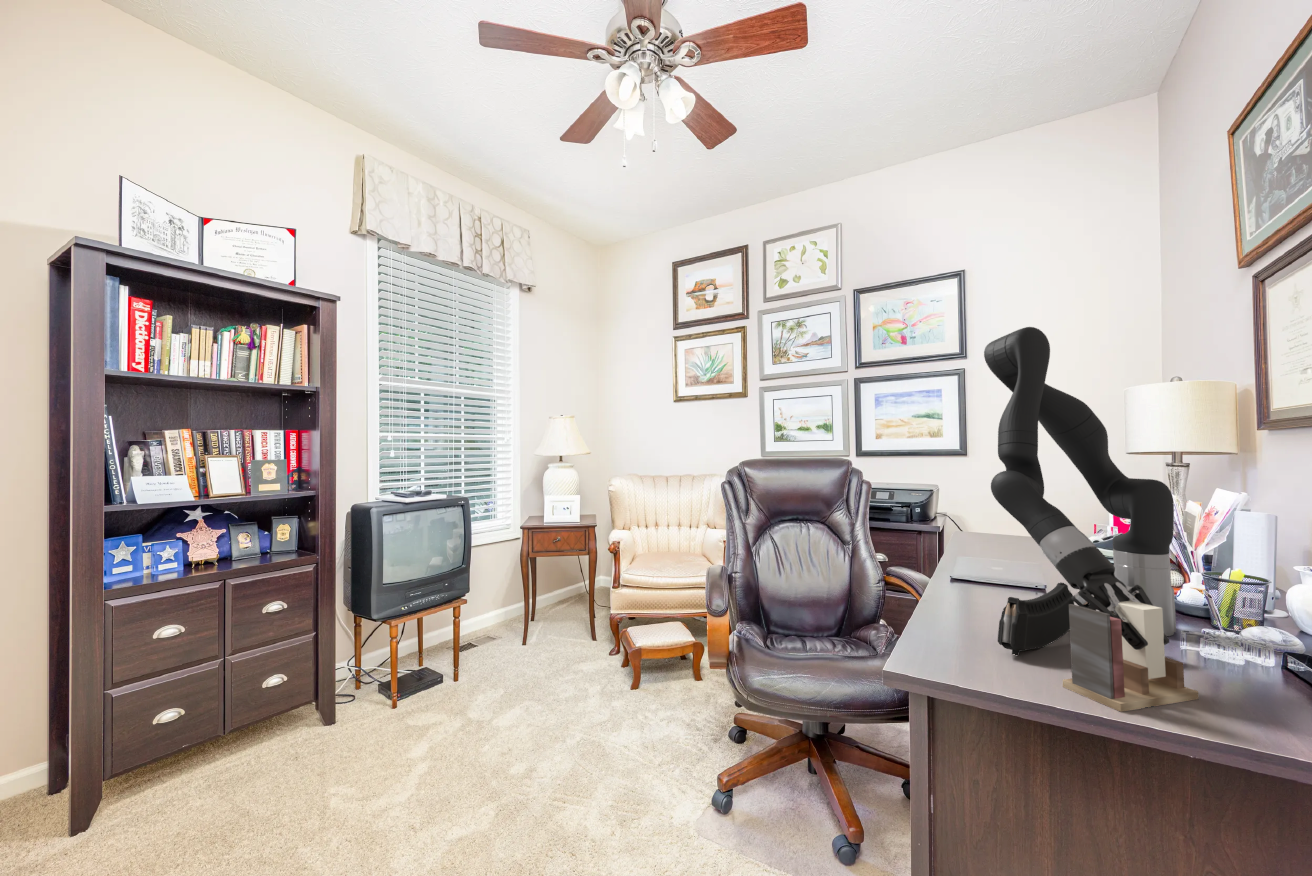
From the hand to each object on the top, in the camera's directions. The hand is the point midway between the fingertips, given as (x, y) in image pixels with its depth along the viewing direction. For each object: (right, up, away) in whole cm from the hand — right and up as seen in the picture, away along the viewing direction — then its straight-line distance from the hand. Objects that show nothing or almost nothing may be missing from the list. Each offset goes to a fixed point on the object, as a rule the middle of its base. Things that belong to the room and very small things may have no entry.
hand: (1152, 645), depth 85 cm
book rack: (-3, -8, +1) cm, 9 cm away
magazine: (0, -9, +24) cm, 26 cm away
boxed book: (0, -5, +2) cm, 5 cm away
